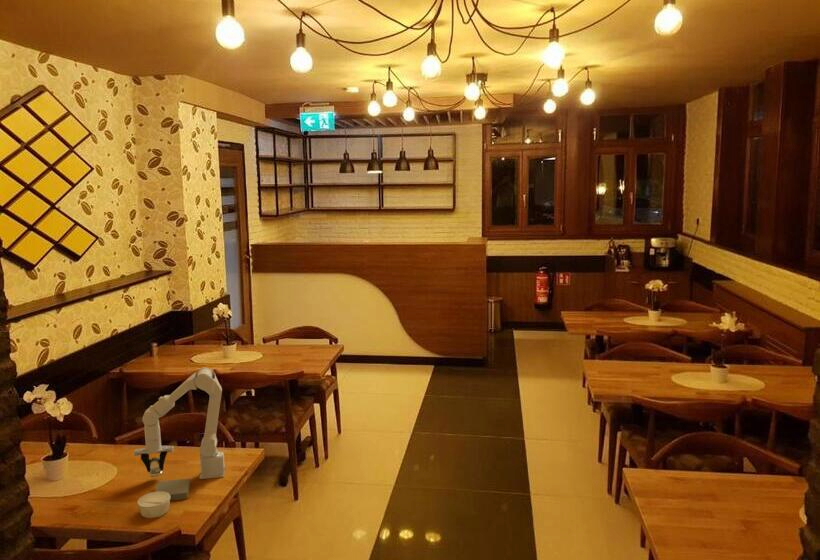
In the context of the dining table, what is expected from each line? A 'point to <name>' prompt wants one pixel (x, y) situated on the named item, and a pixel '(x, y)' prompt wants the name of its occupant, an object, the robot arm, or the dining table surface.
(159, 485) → the stand
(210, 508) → the dining table surface
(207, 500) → the dining table surface
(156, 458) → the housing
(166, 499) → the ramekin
